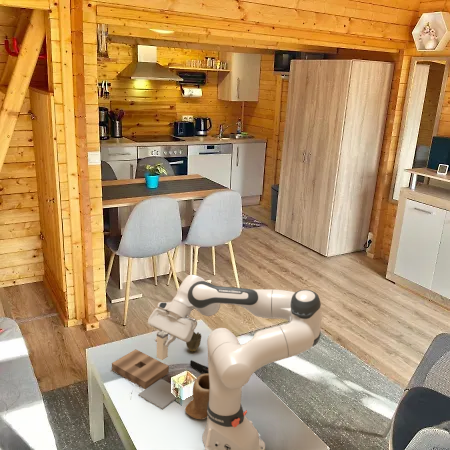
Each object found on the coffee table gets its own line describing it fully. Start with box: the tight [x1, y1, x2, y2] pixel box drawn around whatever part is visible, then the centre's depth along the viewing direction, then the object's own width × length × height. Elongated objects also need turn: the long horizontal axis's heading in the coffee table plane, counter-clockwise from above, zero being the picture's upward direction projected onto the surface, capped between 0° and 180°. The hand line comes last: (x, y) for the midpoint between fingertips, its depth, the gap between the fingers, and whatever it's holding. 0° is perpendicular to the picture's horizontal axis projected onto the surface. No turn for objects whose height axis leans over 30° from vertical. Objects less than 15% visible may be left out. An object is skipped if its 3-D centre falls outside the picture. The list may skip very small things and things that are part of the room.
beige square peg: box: [156, 331, 169, 361], centre depth 177 cm, size 3×3×10 cm
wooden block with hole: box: [111, 349, 170, 390], centre depth 196 cm, size 20×14×4 cm
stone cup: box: [184, 373, 210, 420], centre depth 174 cm, size 15×12×15 cm
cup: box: [185, 331, 202, 353], centre depth 213 cm, size 8×7×8 cm
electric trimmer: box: [189, 359, 209, 374], centre depth 199 cm, size 4×16×3 cm, turn 54°
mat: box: [137, 378, 178, 410], centre depth 184 cm, size 13×13×1 cm
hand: (161, 344), depth 176 cm, fingers closed on beige square peg, 3 cm apart
